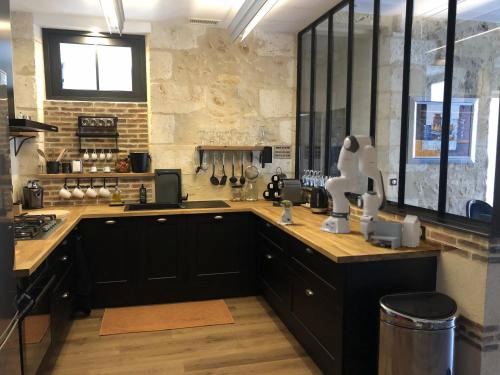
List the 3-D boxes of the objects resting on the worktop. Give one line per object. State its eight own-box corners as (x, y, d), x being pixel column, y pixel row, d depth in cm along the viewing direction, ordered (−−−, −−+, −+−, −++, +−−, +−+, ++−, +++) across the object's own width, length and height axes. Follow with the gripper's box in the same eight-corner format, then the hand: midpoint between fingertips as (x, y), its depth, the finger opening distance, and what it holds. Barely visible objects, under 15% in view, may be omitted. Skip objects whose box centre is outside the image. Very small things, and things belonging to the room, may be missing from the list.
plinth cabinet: (370, 245, 246) (371, 222, 244) (379, 242, 255) (380, 220, 254) (393, 249, 237) (394, 225, 235) (401, 245, 246) (402, 222, 245)
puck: (378, 246, 245) (378, 243, 245) (381, 245, 248) (381, 242, 248) (385, 247, 242) (385, 244, 242) (387, 246, 245) (387, 243, 245)
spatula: (365, 241, 256) (365, 232, 255) (368, 240, 259) (368, 231, 259) (391, 246, 245) (392, 236, 245) (394, 245, 248) (394, 235, 248)
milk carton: (412, 248, 240) (413, 216, 238) (401, 245, 246) (403, 215, 244) (419, 246, 245) (420, 215, 243) (408, 244, 250) (409, 214, 248)
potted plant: (284, 221, 324) (284, 198, 322) (297, 223, 315) (297, 200, 313) (274, 223, 316) (274, 200, 314) (287, 225, 307) (287, 201, 305)
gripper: (372, 214, 265) (371, 235, 266) (358, 218, 249) (358, 240, 251) (381, 215, 261) (381, 236, 262) (368, 219, 245) (367, 242, 246)
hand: (369, 238), depth 256 cm, fingers open, 8 cm apart
